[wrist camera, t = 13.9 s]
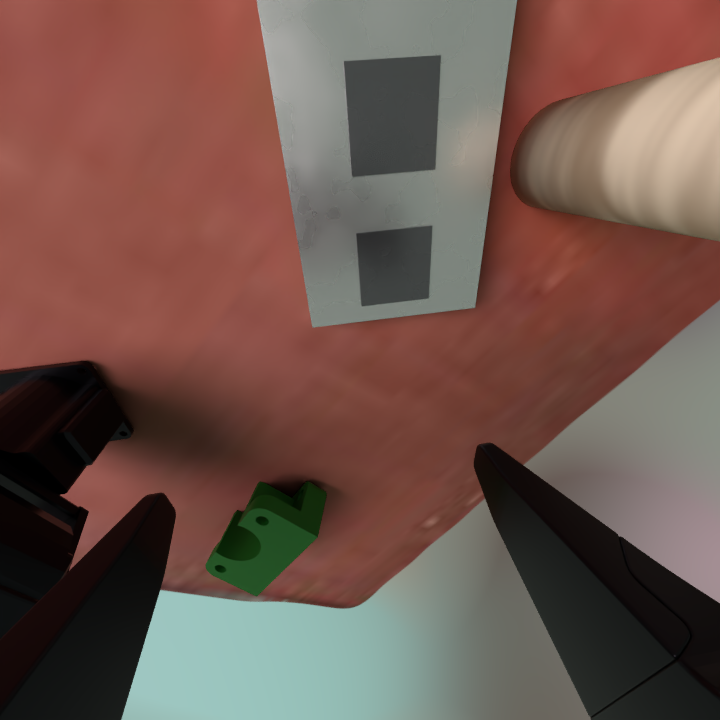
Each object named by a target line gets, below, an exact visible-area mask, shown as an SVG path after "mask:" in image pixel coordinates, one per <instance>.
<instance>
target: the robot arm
mask: <svg viewBox="0 0 720 720" xmlns="http://www.w3.org/2000/svg"><path fill="white" fill-rule="evenodd" d="M81 368H83V369H85V370H86V371H84V370H82V369H81ZM133 432H134V429H133V428H132V426H131V424H130V423H129V421H128V420H127V418H126V417H125V415H124V413H123V412H122V410H121V409H120V407H119V406H118V404H117V403H116V401H115V399H114V398H113V396H112V395H111V393H110V392H109V390H108V388H107V387H106V385H105V384H104V382H103V381H102V379H101V378H100V376H99V374H98V373H97V371H96V370H95V368H94V367H93V366H92V364H90V363H88V362H85V361H78V362H70V363H62V364H54V365H46V366H38V367H30V368H21V369H13V370H5V371H0V720H121V718H122V715H123V712H124V708H125V705H126V702H127V698H128V695H129V692H130V688H131V685H132V682H133V678H134V675H135V672H136V668H137V665H138V662H139V658H140V655H141V652H142V648H143V645H144V642H145V638H146V635H147V632H148V628H149V625H150V622H151V618H152V615H153V612H154V608H155V605H156V602H157V598H158V595H159V592H160V588H161V585H162V581H163V578H164V574H165V569H166V564H167V559H168V554H169V549H170V544H171V539H172V534H173V529H174V524H175V518H176V512H175V509H174V507H173V505H172V504H171V502H170V501H169V499H168V498H167V496H166V495H165V494H164V493H155V494H149V495H147V496H145V497H144V498H142V499H141V500H140V501H139V502H138V503H137V504H136V505H135V506H134V507H133V508H132V509H131V510H130V511H129V512H128V513H127V514H126V515H125V516H124V517H123V518H122V519H121V520H120V521H119V522H118V523H117V524H116V525H115V526H114V527H113V528H112V529H111V530H110V531H109V532H108V533H107V534H106V535H105V536H104V537H103V538H102V539H101V540H100V541H99V542H98V543H97V544H96V545H95V546H94V547H93V548H92V549H91V550H90V551H89V552H88V553H87V554H86V555H85V556H84V557H83V558H82V559H81V560H80V561H79V562H78V563H77V564H76V565H75V566H74V567H73V568H72V569H71V570H70V571H69V569H70V566H71V564H72V560H73V557H74V554H75V551H76V548H77V545H78V542H79V539H80V536H81V533H82V530H83V527H84V524H85V521H86V519H87V516H88V513H89V511H87V510H86V509H84V508H83V507H81V506H80V507H77V506H76V505H74V504H73V503H71V502H70V501H68V500H66V499H65V498H63V497H62V496H60V494H65V493H67V492H68V490H69V489H70V488H71V486H72V485H73V484H74V482H75V481H76V480H77V478H78V477H79V476H80V474H81V473H82V472H83V470H84V469H85V468H86V466H88V465H92V464H93V462H94V461H95V460H96V458H97V457H98V456H99V454H100V453H101V452H102V450H103V449H104V447H105V446H106V445H107V443H108V442H109V441H114V440H121V439H127V438H130V437H131V435H132V434H133ZM474 469H475V472H476V475H477V477H478V480H479V483H480V485H481V488H482V491H483V494H484V496H485V499H486V502H487V504H488V507H489V510H490V513H491V515H492V517H493V520H494V522H495V524H496V527H497V529H498V531H499V533H500V535H501V537H502V539H503V541H504V543H505V545H506V547H507V549H508V551H509V553H510V555H511V557H512V560H513V561H514V564H515V566H516V567H517V570H518V572H519V573H520V576H521V578H522V580H523V582H524V584H525V586H526V588H527V590H528V592H529V594H530V596H531V598H532V600H533V602H534V604H535V606H536V608H537V611H538V613H539V615H540V617H541V619H542V621H543V623H544V625H545V627H546V629H547V631H548V633H549V635H550V637H551V639H552V641H553V643H554V645H555V647H556V649H557V651H558V653H559V655H560V658H561V659H562V661H563V664H564V665H565V668H566V670H567V672H568V674H569V676H570V678H571V680H572V682H573V684H574V686H575V688H576V690H577V692H578V694H579V696H580V698H581V700H582V702H583V704H584V707H585V709H586V711H587V713H588V715H589V716H590V717H591V720H720V603H718V602H717V601H715V600H714V599H712V598H710V597H709V596H708V595H706V594H704V593H703V592H701V591H700V590H698V589H696V588H695V587H693V586H692V585H690V584H689V583H687V582H686V581H684V580H683V579H681V578H680V577H678V576H677V575H675V574H674V573H672V572H671V571H669V570H668V569H666V568H665V567H663V566H662V565H660V564H659V563H658V562H656V561H655V560H653V559H652V558H650V557H649V556H647V555H646V554H645V553H643V552H642V551H641V550H639V549H637V548H636V547H635V546H634V545H632V544H631V543H629V542H628V541H627V540H625V539H624V538H623V537H619V536H618V534H617V533H616V532H614V531H613V530H611V529H610V528H609V527H607V526H606V525H605V524H603V523H602V522H600V521H599V520H598V519H596V518H595V517H593V516H592V515H591V514H589V513H588V512H587V511H585V510H584V509H582V508H581V507H580V506H578V505H577V504H575V503H574V502H573V501H572V500H570V499H569V498H567V497H566V496H565V495H563V494H562V493H561V492H559V491H558V490H556V489H555V488H554V487H552V486H551V485H549V484H548V483H547V482H545V481H544V480H543V479H541V478H540V477H539V476H537V475H536V474H534V473H533V472H532V471H530V470H529V469H528V468H526V467H525V466H523V465H522V464H521V463H519V462H518V461H517V460H515V459H514V458H512V457H511V456H510V455H508V454H507V453H506V452H504V451H503V450H501V449H500V448H499V447H497V446H496V445H494V444H493V443H484V444H479V445H478V446H477V448H476V453H475V458H474Z"/></svg>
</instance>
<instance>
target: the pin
mask: <svg viewBox="0 0 720 720" xmlns="http://www.w3.org/2000/svg"><path fill="white" fill-rule="evenodd" d="M510 176H511V183H512V186H513V189H514V191H515V193H516V195H517V196H518V198H519V199H520V200H521V201H522V202H524V203H525V204H527V205H529V206H532V207H536V208H542V209H547V210H553V211H558V212H563V213H569V214H574V215H580V216H585V217H590V218H596V219H601V220H607V221H612V222H618V223H623V224H628V225H634V226H639V227H645V228H650V229H655V230H661V231H666V232H672V233H677V234H682V235H688V236H693V237H699V238H704V239H709V240H715V241H720V58H716V59H712V60H708V61H705V62H701V63H697V64H693V65H690V66H686V67H682V68H678V69H675V70H671V71H667V72H663V73H660V74H656V75H652V76H648V77H645V78H641V79H637V80H633V81H630V82H626V83H622V84H619V85H615V86H611V87H607V88H604V89H600V90H596V91H592V92H589V93H585V94H581V95H577V96H574V97H570V98H566V99H562V100H559V101H556V102H553V103H551V104H550V105H548V106H546V107H545V108H543V109H542V110H540V111H539V112H538V113H537V114H536V115H535V116H534V117H533V118H532V119H531V120H530V121H529V123H528V124H527V125H526V127H525V128H524V130H523V131H522V133H521V134H520V136H519V138H518V140H517V143H516V145H515V148H514V151H513V155H512V159H511V167H510Z"/></svg>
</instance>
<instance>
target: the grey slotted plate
mask: <svg viewBox="0 0 720 720" xmlns="http://www.w3.org/2000/svg"><path fill="white" fill-rule="evenodd" d="M516 4H517V0H257V5H258V11H259V17H260V23H261V29H262V34H263V40H264V46H265V52H266V58H267V64H268V70H269V75H270V81H271V87H272V93H273V99H274V105H275V111H276V116H277V122H278V128H279V134H280V140H281V146H282V152H283V158H284V163H285V169H286V175H287V181H288V187H289V193H290V199H291V204H292V210H293V216H294V222H295V228H296V234H297V240H298V245H299V251H300V257H301V263H302V269H303V275H304V281H305V286H306V292H307V298H308V304H309V310H310V316H311V322H312V327H320V326H329V325H337V324H345V323H353V322H362V321H370V320H378V319H386V318H394V317H403V316H411V315H419V314H427V313H436V312H444V311H452V310H460V309H468V308H475V304H476V297H477V290H478V282H479V275H480V268H481V260H482V253H483V246H484V238H485V231H486V224H487V216H488V209H489V202H490V194H491V187H492V180H493V172H494V165H495V158H496V151H497V143H498V136H499V129H500V121H501V114H502V107H503V99H504V92H505V85H506V77H507V70H508V63H509V55H510V48H511V41H512V33H513V26H514V19H515V11H516Z"/></svg>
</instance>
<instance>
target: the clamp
mask: <svg viewBox="0 0 720 720" xmlns="http://www.w3.org/2000/svg"><path fill="white" fill-rule="evenodd" d="M326 496H327V493H326V491H324V490H322V489H321V488H319V487H317V486H315V485H314V484H312V483H310V482H308V481H307V482H306V483H305V484H304V485H303V486H302V487H301V488H300V489H299V491H298V492H297V493H296V494H295V495H294V496H293V497H292V498H291V497H289V496H287V495H285V494H284V493H282V492H280V491H278V490H276V489H275V488H273V487H271V486H269V485H268V484H266V483H263V482H259V483H258V484H257V486H256V488H255V490H254V492H253V494H252V496H251V499H250V501H249V503H248V505H247V507H246V509H245V511H244V513H243V512H241V511H238V510H237V511H236V512H235V513H234V515H233V517H232V519H231V521H230V523H229V525H228V527H227V529H226V531H225V533H224V535H223V537H222V539H221V541H220V542H219V543H218V544H217V545H216V547H215V548H214V550H213V551H212V553H211V555H210V557H209V559H208V561H207V563H206V569H207V571H208V572H209V573H210V574H212V575H213V576H215V577H217V578H219V579H221V580H223V581H226V582H228V583H230V584H232V585H234V586H236V587H238V588H240V589H242V590H244V591H246V592H248V593H250V594H253V595H255V596H258V595H259V594H260V593H261V592H262V591H263V590H264V589H265V588H266V587H267V586H268V585H269V584H270V583H271V582H272V581H273V580H274V579H275V578H276V577H277V576H278V575H279V574H280V573H281V572H282V571H283V570H284V569H285V568H286V567H287V566H289V565H290V564H291V563H292V562H293V561H294V560H295V559H296V558H297V557H298V556H299V555H300V554H301V553H302V552H303V551H304V550H305V549H306V548H307V547H308V546H309V545H310V544H311V543H312V542H313V541H314V540H315V539H316V538H317V537H318V534H319V529H320V524H321V520H322V515H323V510H324V505H325V501H326Z"/></svg>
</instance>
